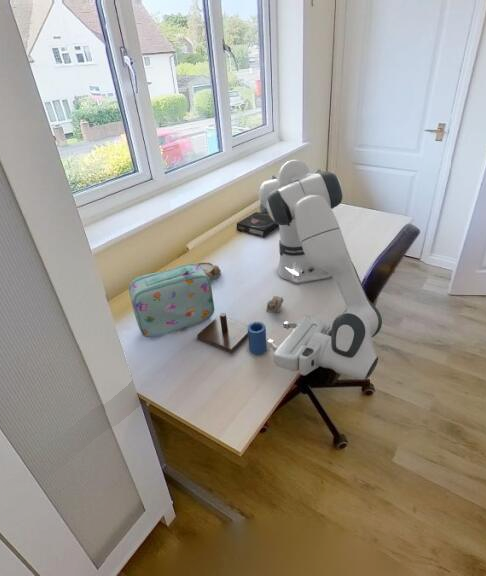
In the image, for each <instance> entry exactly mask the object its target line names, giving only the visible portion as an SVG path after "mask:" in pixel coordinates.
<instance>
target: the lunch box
mask: <svg viewBox="0 0 486 576" xmlns="http://www.w3.org/2000/svg"><path fill="white" fill-rule="evenodd" d="M128 294H129V297H130V301H131V305H132V310H133V314H134V317H135V320H136V323H137V327H138V328H139V331H140V334H141V335H142V336H143V337H145V338H148V339H151V338H158V337H162V336H165V335H167V334H170V333H174V332H178V331H184V330H187V329H189V328H191V327H194V326H197V325H199V324H202V323H204V322H206V321H208V320H210V319H211V318H212V317H213V315H214V313H215V302H214V295H213V289H212V281H211V282H210V279H209V277H208V276H207V275H206V274H205V273H204V271H203V269H202V267H201V266H200V265H198V264H197V263H187V264H184V265H180V266H177V267H173V268H170V269H166V270H163V271H159V272H153V273H147V274H143V275H140V276H138V277H136V278H135V279H133V280H132V281H131V282H130V284H129V286H128Z"/></svg>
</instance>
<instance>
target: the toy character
mask: <svg viewBox="0 0 486 576" xmlns="http://www.w3.org/2000/svg"><path fill="white" fill-rule="evenodd" d="M283 302H284V298H283V297H282V296H277V295H273V296H272V298H271V299H270V300H269V301H268V302H267V305H266V310H265V311H266V312H267V313H268V314H273V312H274V313H277V314H278V313H279V311H280V310H281V307H282V305H283Z"/></svg>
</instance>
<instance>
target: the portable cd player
mask: <svg viewBox="0 0 486 576" xmlns="http://www.w3.org/2000/svg"><path fill="white" fill-rule="evenodd" d="M235 228H236V231H238V232H242V233H245V234H249V235H253V236H256V237H260V238H263V239H265V238H266V237H267V236H269V235H270V234H272V233H273V232H275V231H276V230H278V229H279V225H278V224H276V223H275V221H273V220H272V218H271V217H270V215H269V213H267V214H264V213H262V212H261V211H255V212H253V213H251V214H250V215H248V216H246V217H244V218H243V219H241V220H240V221H238V222H236V227H235Z"/></svg>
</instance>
